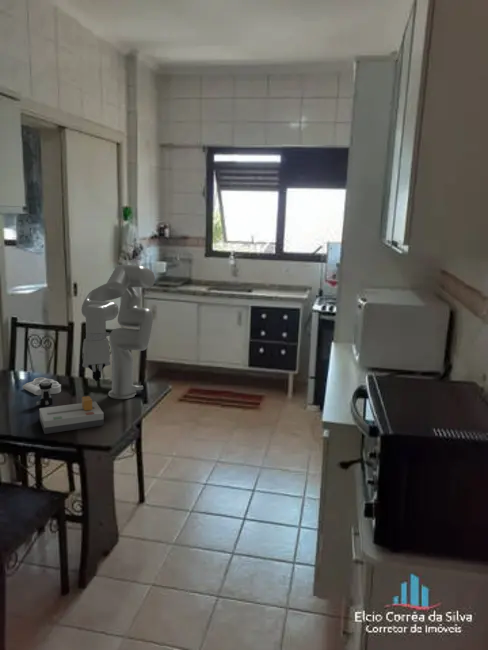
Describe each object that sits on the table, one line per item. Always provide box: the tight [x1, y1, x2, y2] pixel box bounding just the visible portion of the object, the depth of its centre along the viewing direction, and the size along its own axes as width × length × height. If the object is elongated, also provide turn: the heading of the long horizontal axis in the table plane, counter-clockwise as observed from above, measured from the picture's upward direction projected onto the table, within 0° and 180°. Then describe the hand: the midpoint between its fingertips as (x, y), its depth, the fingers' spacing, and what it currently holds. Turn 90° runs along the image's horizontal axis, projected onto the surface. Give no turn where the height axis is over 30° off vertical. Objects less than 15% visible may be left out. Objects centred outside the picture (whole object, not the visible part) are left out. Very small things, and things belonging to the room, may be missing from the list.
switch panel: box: [39, 401, 105, 435], centre depth 201 cm, size 22×16×5 cm
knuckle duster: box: [22, 377, 62, 396], centre depth 235 cm, size 3×18×15 cm
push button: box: [36, 381, 53, 406], centre depth 216 cm, size 7×5×10 cm
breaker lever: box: [81, 395, 93, 411], centre depth 202 cm, size 3×5×6 cm, turn 29°
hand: (96, 379), depth 202 cm, fingers closed
